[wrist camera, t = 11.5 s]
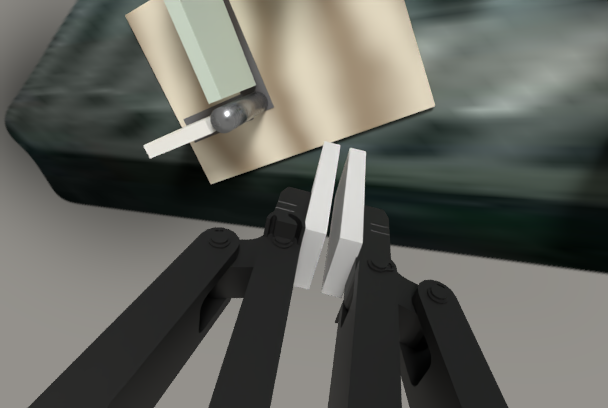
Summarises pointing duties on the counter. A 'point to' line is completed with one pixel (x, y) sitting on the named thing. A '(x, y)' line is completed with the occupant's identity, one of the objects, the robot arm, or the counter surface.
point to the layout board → (294, 75)
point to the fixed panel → (180, 137)
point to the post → (238, 112)
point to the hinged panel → (211, 46)
